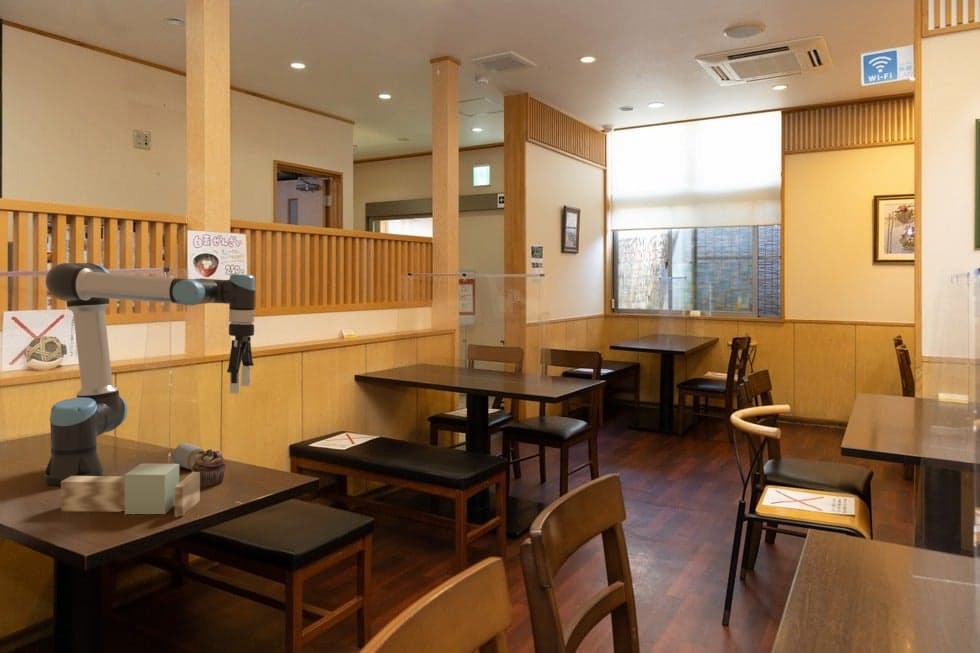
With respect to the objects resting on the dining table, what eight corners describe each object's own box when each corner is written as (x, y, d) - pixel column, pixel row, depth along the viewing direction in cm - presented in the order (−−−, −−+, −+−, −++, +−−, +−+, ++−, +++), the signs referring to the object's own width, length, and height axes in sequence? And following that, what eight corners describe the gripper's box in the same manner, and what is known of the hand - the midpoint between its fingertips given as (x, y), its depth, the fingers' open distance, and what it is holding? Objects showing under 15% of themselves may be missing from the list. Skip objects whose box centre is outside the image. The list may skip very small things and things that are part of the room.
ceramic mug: (188, 473, 209) (189, 449, 208) (171, 468, 213) (172, 444, 212) (216, 465, 218) (217, 442, 218) (200, 461, 222) (200, 439, 222)
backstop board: (174, 517, 172) (174, 486, 172) (192, 500, 185) (192, 471, 185) (182, 517, 172) (182, 487, 172) (199, 500, 185) (199, 472, 185)
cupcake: (232, 479, 204) (232, 447, 203) (212, 489, 195) (212, 455, 194) (205, 476, 206) (205, 444, 205) (184, 485, 197) (184, 452, 196)
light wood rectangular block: (61, 511, 173) (60, 481, 173) (71, 504, 178) (71, 475, 178) (124, 512, 175) (124, 482, 174) (133, 505, 180) (133, 476, 179)
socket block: (124, 514, 172) (124, 474, 172) (141, 501, 182) (141, 463, 182) (164, 514, 173) (165, 474, 173) (179, 501, 183) (179, 463, 183)
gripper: (243, 326, 198) (242, 397, 200) (262, 320, 223) (261, 383, 224) (217, 325, 197) (216, 396, 199) (239, 319, 222) (238, 382, 224)
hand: (240, 389), depth 212 cm, fingers open, 13 cm apart
